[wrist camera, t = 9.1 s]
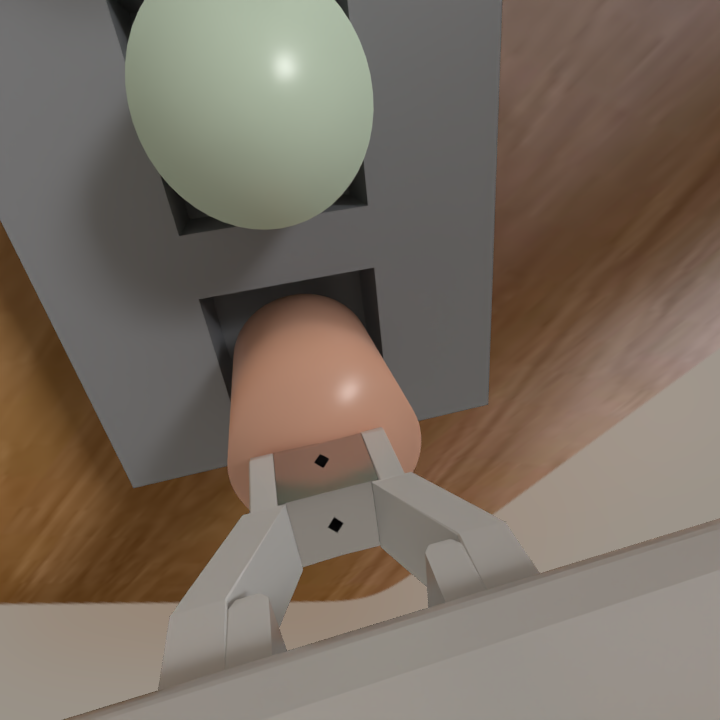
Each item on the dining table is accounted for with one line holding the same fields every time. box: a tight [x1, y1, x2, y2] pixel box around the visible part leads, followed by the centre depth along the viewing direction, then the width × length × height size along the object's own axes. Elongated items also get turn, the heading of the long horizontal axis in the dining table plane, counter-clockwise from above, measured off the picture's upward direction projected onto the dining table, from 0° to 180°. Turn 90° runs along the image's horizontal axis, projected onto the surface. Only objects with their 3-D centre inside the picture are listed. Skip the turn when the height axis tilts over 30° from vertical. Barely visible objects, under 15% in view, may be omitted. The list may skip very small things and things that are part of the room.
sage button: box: [125, 0, 374, 230], centre depth 10 cm, size 4×4×5 cm
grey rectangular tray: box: [0, 0, 502, 488], centre depth 12 cm, size 13×21×4 cm, turn 7°
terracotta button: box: [227, 294, 421, 509], centre depth 12 cm, size 4×4×5 cm
